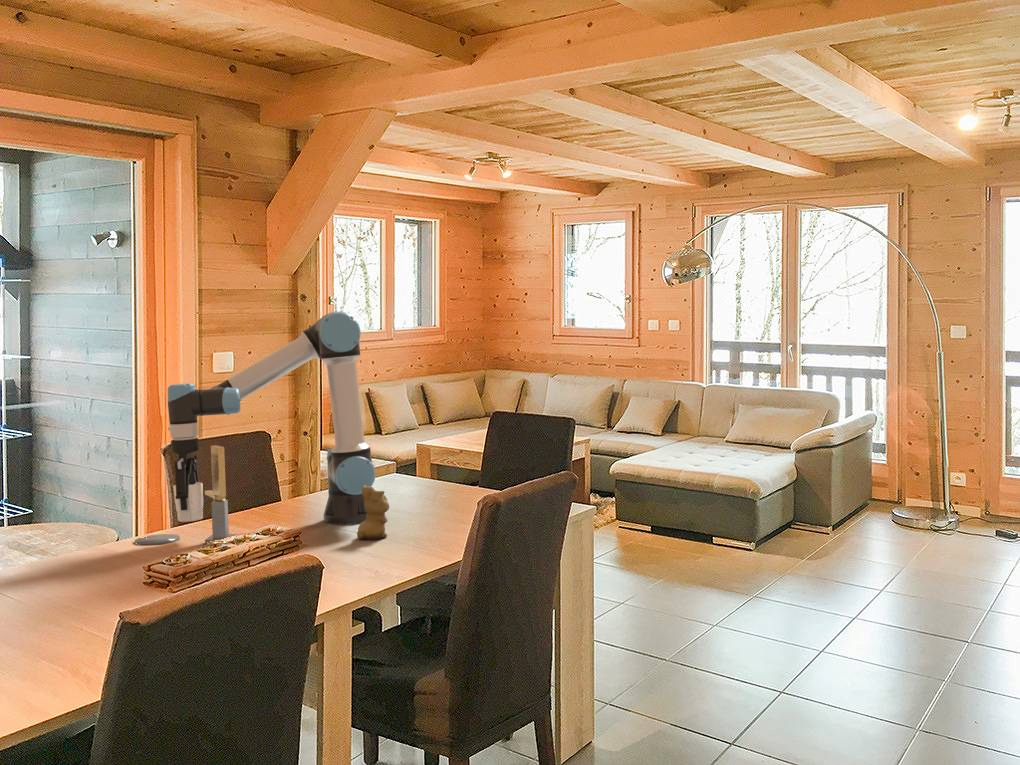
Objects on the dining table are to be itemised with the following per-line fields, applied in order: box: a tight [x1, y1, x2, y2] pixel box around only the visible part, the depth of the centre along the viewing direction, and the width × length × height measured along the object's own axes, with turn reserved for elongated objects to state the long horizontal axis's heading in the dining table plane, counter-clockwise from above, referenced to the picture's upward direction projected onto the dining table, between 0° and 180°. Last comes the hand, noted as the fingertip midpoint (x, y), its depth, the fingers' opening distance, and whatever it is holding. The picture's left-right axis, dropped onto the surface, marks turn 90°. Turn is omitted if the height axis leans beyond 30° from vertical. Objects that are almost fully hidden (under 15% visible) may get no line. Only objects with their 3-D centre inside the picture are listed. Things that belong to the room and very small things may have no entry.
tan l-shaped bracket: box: [204, 444, 227, 501], centre depth 263 cm, size 16×3×15 cm, turn 33°
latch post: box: [204, 499, 237, 544], centre depth 260 cm, size 7×7×12 cm
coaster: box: [134, 533, 181, 546], centre depth 263 cm, size 12×12×1 cm
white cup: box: [172, 481, 204, 523], centre depth 260 cm, size 8×8×10 cm
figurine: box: [356, 485, 390, 541], centre depth 259 cm, size 10×8×15 cm
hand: (190, 518), depth 260 cm, fingers closed on white cup, 7 cm apart
